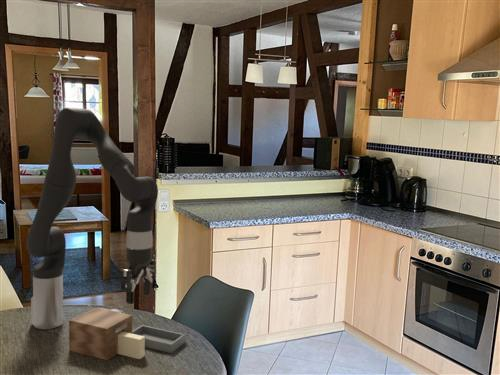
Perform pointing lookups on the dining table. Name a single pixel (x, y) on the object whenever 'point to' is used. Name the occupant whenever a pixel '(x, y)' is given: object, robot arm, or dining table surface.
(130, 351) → the cream rectangular block
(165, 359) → the dining table surface
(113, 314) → the wooden block
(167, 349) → the tray
